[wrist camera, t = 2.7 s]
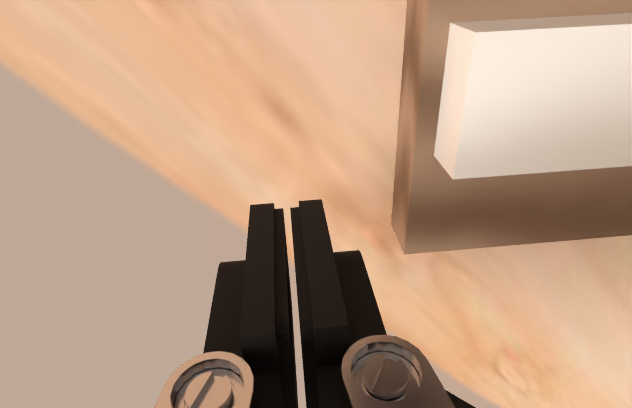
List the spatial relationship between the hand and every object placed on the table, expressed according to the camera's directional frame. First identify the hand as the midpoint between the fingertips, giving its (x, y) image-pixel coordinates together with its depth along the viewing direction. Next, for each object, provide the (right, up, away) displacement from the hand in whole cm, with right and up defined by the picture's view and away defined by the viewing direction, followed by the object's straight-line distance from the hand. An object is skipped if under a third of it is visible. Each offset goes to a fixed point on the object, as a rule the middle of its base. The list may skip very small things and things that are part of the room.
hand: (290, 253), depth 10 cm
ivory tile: (+11, +6, +9) cm, 15 cm away
